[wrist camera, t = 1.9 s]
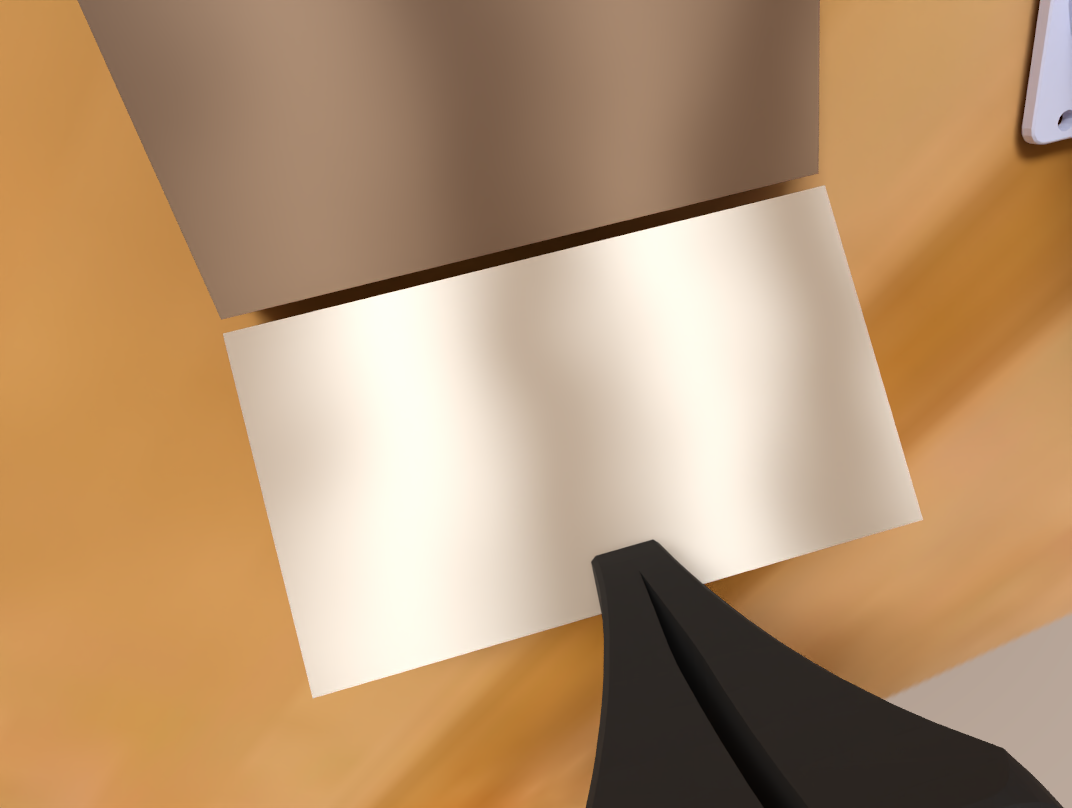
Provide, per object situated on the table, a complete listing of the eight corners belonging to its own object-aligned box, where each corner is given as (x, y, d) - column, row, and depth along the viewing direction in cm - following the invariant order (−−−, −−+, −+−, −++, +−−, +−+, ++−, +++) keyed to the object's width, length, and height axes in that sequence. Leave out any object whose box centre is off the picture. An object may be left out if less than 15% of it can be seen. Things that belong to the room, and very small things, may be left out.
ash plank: (785, 215, 17) (824, 185, 15) (871, 510, 17) (923, 519, 15) (257, 347, 16) (222, 333, 14) (336, 666, 16) (313, 698, 14)
